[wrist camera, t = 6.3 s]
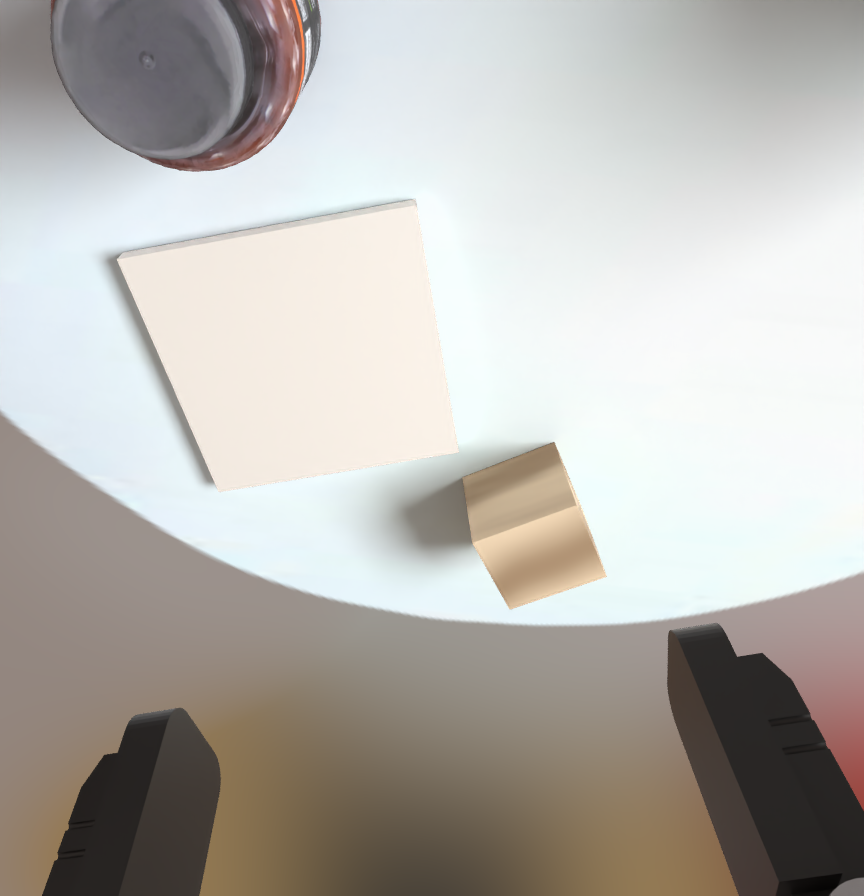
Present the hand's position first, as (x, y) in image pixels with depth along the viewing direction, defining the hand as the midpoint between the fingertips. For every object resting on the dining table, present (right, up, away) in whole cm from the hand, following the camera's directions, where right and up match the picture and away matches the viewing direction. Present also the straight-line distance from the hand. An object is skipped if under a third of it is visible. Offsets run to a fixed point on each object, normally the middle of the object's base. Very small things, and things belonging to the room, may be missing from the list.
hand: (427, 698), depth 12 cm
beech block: (+5, +2, +25) cm, 26 cm away
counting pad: (-6, +8, +20) cm, 22 cm away
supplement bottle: (-7, +19, +12) cm, 24 cm away
